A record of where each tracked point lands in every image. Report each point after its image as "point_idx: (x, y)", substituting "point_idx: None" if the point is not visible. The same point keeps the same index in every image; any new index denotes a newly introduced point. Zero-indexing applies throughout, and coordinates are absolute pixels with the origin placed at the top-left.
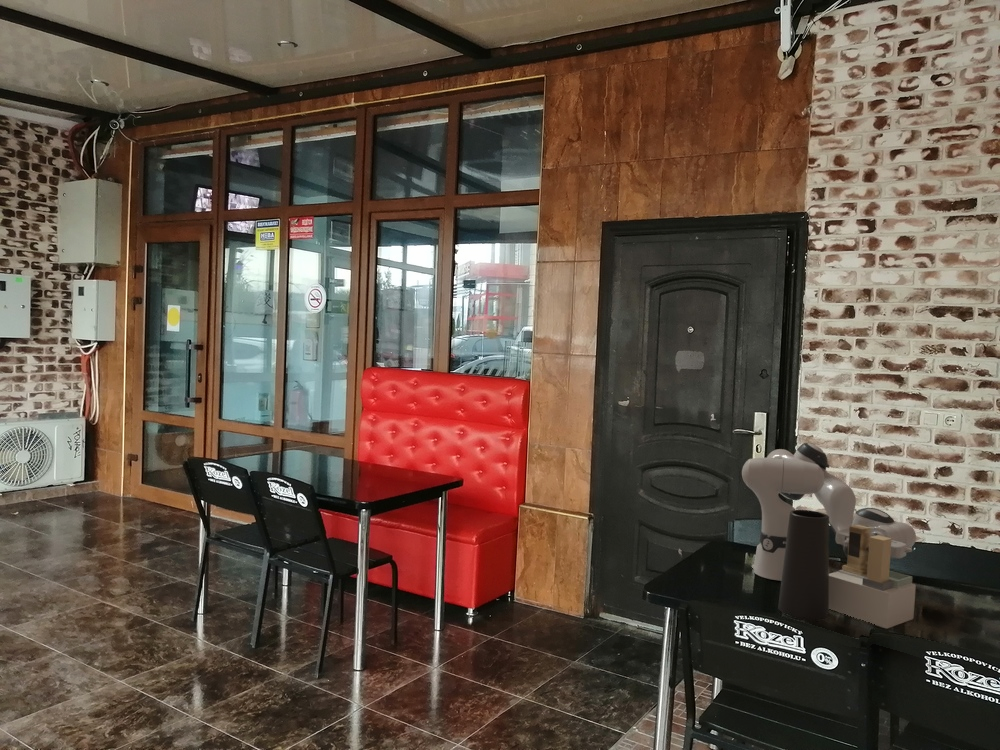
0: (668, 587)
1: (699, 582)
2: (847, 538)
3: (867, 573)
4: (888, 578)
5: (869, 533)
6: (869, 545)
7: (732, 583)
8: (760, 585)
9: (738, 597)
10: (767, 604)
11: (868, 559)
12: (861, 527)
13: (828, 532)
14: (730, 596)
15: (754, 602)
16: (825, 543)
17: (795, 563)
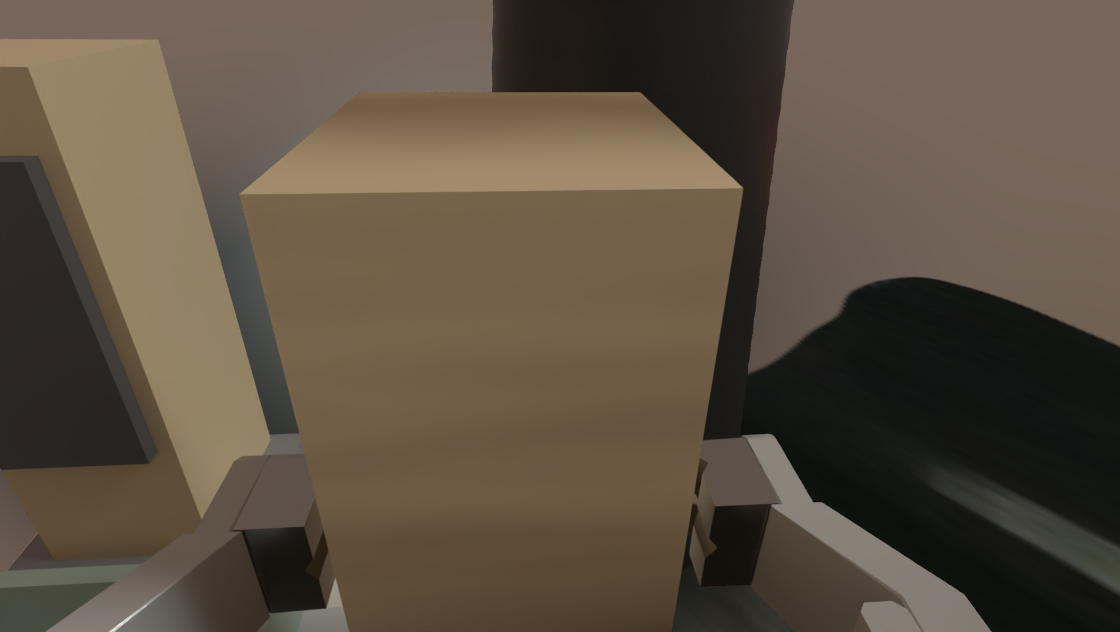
0: (984, 314)
1: (1088, 406)
2: (925, 586)
3: (255, 400)
4: (50, 541)
5: (297, 358)
6: (181, 142)
7: (1115, 509)
8: (1115, 624)
9: (858, 405)
10: (748, 434)
11: (223, 286)
12: (452, 125)
13: (499, 3)
14: (873, 392)
15: (784, 413)
16: (492, 80)
17: None
